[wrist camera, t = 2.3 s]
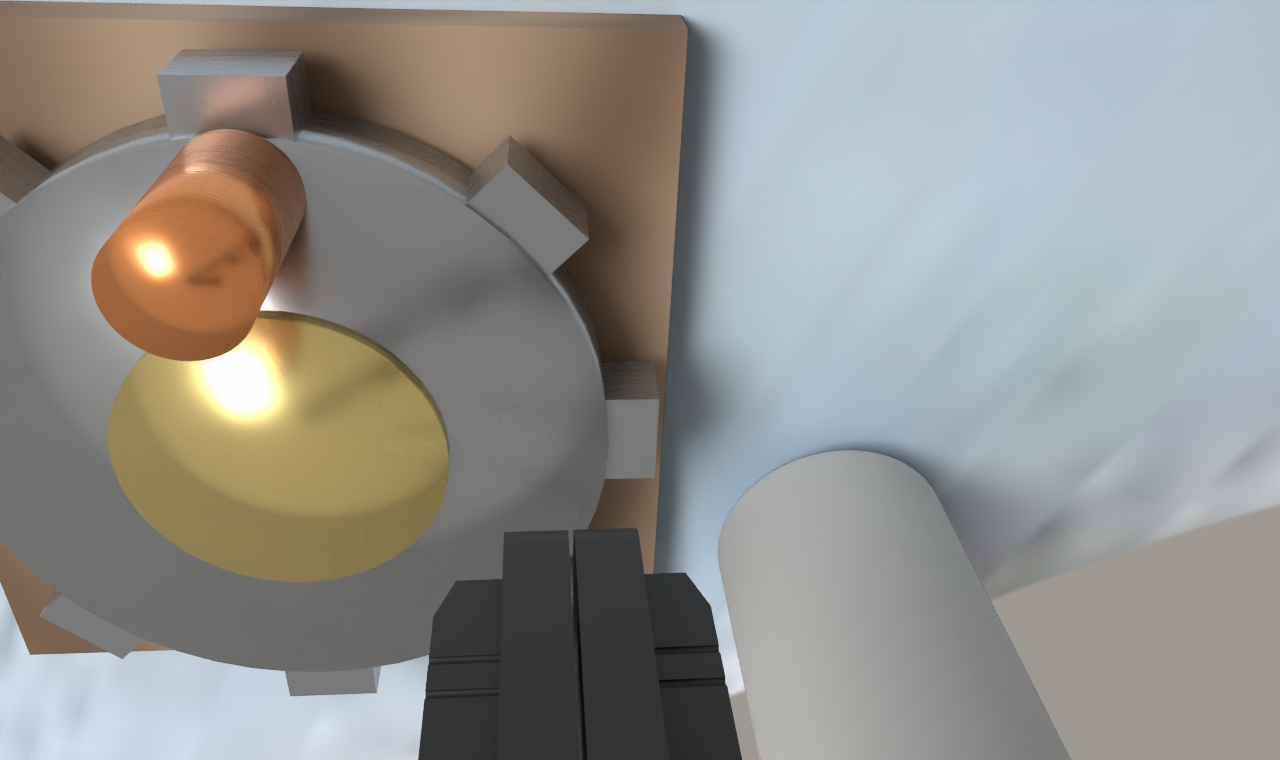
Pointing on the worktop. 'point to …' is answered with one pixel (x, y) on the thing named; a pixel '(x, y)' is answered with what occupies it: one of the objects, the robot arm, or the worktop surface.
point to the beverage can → (869, 622)
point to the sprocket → (292, 377)
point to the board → (422, 110)
